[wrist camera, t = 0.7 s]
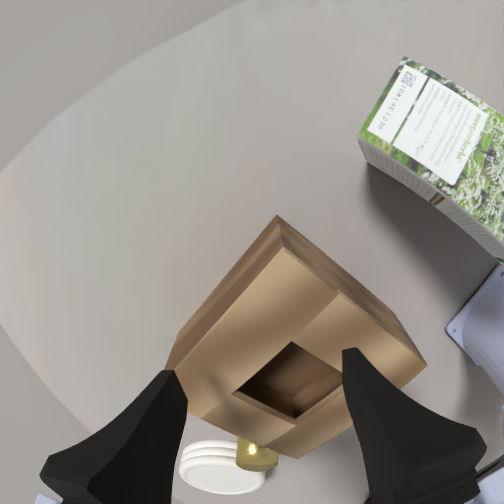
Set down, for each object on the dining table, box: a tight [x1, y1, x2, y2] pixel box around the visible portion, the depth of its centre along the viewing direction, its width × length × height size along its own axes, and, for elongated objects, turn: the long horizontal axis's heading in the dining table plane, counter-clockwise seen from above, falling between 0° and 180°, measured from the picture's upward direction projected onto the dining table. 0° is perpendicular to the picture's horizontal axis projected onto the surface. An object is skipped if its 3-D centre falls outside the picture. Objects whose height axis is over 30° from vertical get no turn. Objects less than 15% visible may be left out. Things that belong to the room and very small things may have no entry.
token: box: [236, 437, 278, 472], centre depth 24 cm, size 4×4×5 cm
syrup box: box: [357, 56, 504, 267], centre depth 12 cm, size 6×6×14 cm
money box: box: [164, 215, 427, 459], centre depth 19 cm, size 12×12×7 cm
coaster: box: [179, 440, 265, 495], centre depth 28 cm, size 10×10×4 cm
